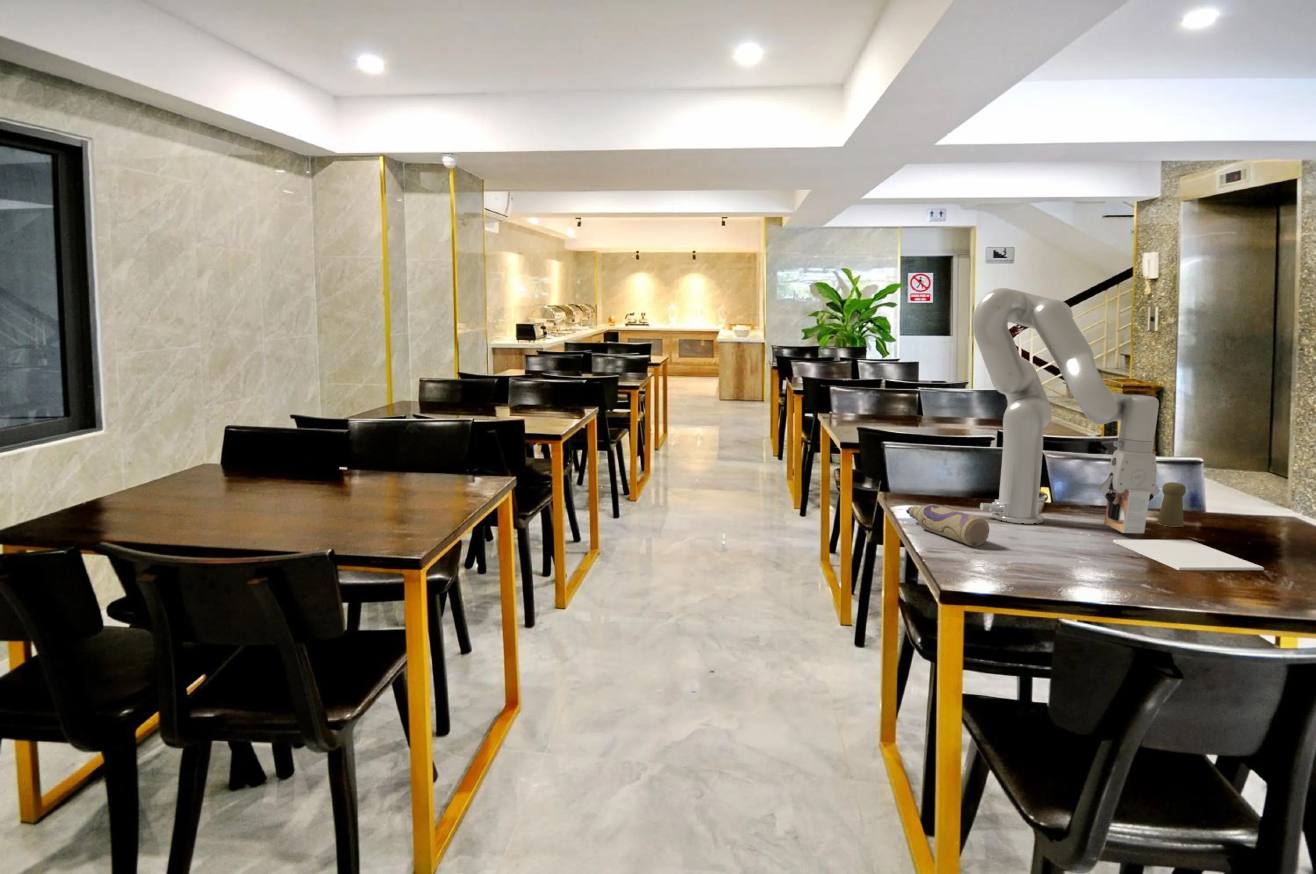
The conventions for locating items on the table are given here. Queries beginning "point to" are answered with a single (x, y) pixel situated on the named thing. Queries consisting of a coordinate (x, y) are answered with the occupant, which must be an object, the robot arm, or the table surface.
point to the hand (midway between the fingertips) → (1125, 518)
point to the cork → (1172, 505)
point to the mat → (1187, 555)
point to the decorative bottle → (951, 524)
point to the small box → (1130, 512)
